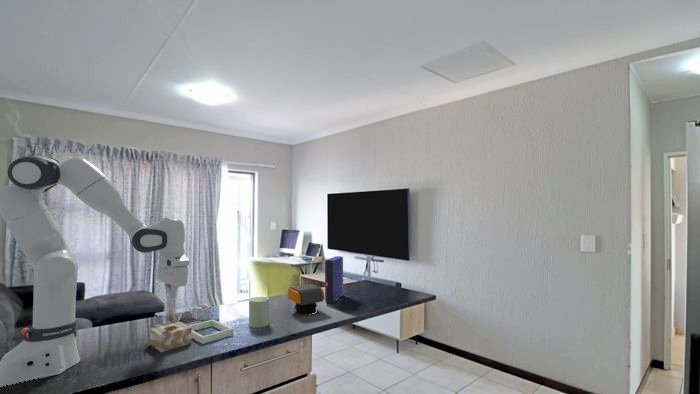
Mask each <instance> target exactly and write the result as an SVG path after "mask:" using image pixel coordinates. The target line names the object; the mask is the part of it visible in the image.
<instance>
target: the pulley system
mask: <svg viewBox="0 0 700 394" xmlns="http://www.w3.org/2000/svg"><path fill="white" fill-rule="evenodd" d="M209 320H215V321H217V322H219V320H220V318H219V317H214V318H208V319H205V315H203V314H201V315H197V318H194V315H193V312H192V311H189V312H188V311H187V312H182V313H181V316H180V319H179V313H175V320H174V321H170V323H164V324H162V323H161V324H154V325H153V328H156V327H160V326H164V325H168V324H172V323H176V322H182V323H184V324H187V323H194V322H198V321H199V322H200V323H201V322H205V321H209Z"/></svg>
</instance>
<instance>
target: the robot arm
mask: <svg viewBox="0 0 700 394" xmlns="http://www.w3.org/2000/svg"><path fill="white" fill-rule="evenodd" d="M7 177H8V178H9V180H10V182H11V184H7V185H5V186H2V187H1V188H0V214H1V216H2V217H1V218H2V219H3V221H4V222H5V224H6V225H7V228H8V229H9V231H10V233H11V235H12V237H13V238H14V240H15V241H16V244H17V245H18V247H19V249H21V251H22V252H23V254H24V256H25V257H26V258H27V260H28V262H29V264H30V266H32V269H33V293H32V295H33V301H32V302H33V303H32V304H33V305H32V327H24V328H22V329H21V331H20V333H21V335H23V340H22V342H20V343H19V344H17V345H16V346H15V347H13V348H12V349H11V350H9V351H8V352H7V353H5V354H4V355H3V356H2V358H1V359H0V388H2V387H3V386H4V387H7V386H6V385H8V386H12V384H13V385H16V383H17V384H20V383H19V382H21V383H25V382H24V381H26V382H29V380H30V381H34V380H33V379H35V380H38V378H39V379H43V378H47V377H51V376H55V375H60V374H62V373H64V372H66V370H68V369H70V368H72V367H74V366H75V365H77V364H78V363H79V362H80V361H81V357H80V355H79V351H78V346H77V340H76V339H77V333H78V323H77V322H78V321H77V320H76V308H77V307H76V304H77V302H76V301H77V289H78V288H77V286H78V285H77V284H78V269H79V268H78V267H79V265H78V262H77V260H76V259H75V257H74V255H73V253H72V252H71V250H70V248H69V246H68V244H67V242H66V240H65V238H64V237H63V234H62V233H61V231H60V229H59V227H58V225H57V224H56V222H55V220H54V218H53V216H52V214H51V212H50V210H49V208H48V207H47V204H46V203H45V201H44V199H43V193H46V192H48V191H49V190H50V189H52V188H54V187H56V186H58V185H61V186H64V187H65V188H67V190H70V191H71V193H72V194H74V196H76V197H77V199H79V200H80V201H81V202H82V203H84V204H85V205H86V206H88V207H89V208H91V209H93V210H94V211H96V212H99V213H101V214H103V215H105V216H107V217H109V218H110V219H112V221H113V222H115V223H116V224H117V225H118V227H120V228H121V229H122V230H123V231H124V232H125V233H126V234H127V235H128V237H129V240H130V244H131V246H132V247H133V248H134V249H135V250H136V251H137V252H139V253H143V254H149V253H152V252H156V251H159V252H158V253H159V254H158V255H159V256H158V266H157V277H156V278H157V281H159V282H162V283H163V284H164V288H165V295H167V284H170V285H171V288H172V290H171V292H170V296H172V297H174V296H176V297H177V294H178V289H179V288H181V287H185V286H187V283H188V279H189V277H188V274H189V273H188V272H189V268H188V266H189V265H190V260H189V259H188V258H187V256H186V255H185V253H186V252H185V242H186V241H185V240H186V231H185V224H184V222H182V220H180V219H176V218H169V217H164V218H162V219H160V220H159V221H157V222H155V223H153V224H151V225H150V224H149V225H147V224H146V223H143V222H142V221H140V219H138V217H137V216H135V214H133V212H131V210H130V209H129V208H128V207H127V206H126V205H125V204H124V200H123V199H122V197H121V193H120V192H119V190H118V189H117V188H116V186H115V185H114V183H113V182H112V181H111V180H110V179H109V177H108V176H106V175H105V173H103V172H102V171H101V170H100V169H99V168H98V167H96V166H95V165H94V164H92V163H91V162H90V161H88V160H87V159H85V158H83V157H72V158H69V159H67V160H65V161H63V162H60V161H58V160H57V159H55V158H53V157H49V156H45V155H44V156H43V155H25V156H22V157H19V158H16V159H14V160H13V161H12V162H11V163H10V164H9V166H8V168H7Z"/></svg>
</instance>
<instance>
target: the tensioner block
mask: <svg viewBox="0 0 700 394" xmlns="http://www.w3.org/2000/svg"><path fill="white" fill-rule="evenodd" d="M182 322H183V321H180V322H178V321H177V322H176V323H172V324H170V323H167V324H168V325H164V326H160V327H156V328H154V327H152V328H150V334H149V335H150V339H149V340H150V342H149V343H150V346H151V347H153V348H154V349H156V350H157V351H158V352H160V353H164V352H167V351H170V350H174V349H177V348H181V347H184V346H186V345H190V344H192V341H193V340H192V339H193V338H192V328H191V327H190V326H189V325H187V323H182Z"/></svg>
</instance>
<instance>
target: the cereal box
mask: <svg viewBox="0 0 700 394" xmlns="http://www.w3.org/2000/svg"><path fill="white" fill-rule="evenodd" d="M341 295H343V296H344V257H343V256H341V255H340V256H339V255H337V256H336V255H335V256H333V257H331V258H327V259H325V260H324V296H325V299H324V302H325V301H326V302H325V303H327V302H333V301H335V300H336V299H337V298H339V297H340V296H341ZM339 299H340V298H339ZM336 301H337V300H336ZM336 301H335V302H336Z"/></svg>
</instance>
